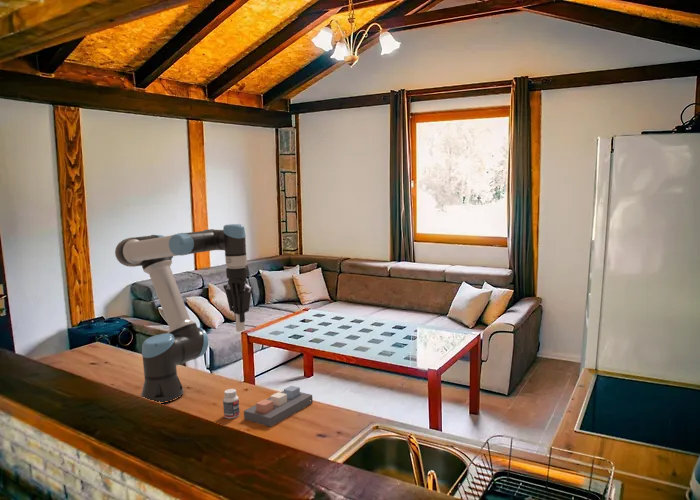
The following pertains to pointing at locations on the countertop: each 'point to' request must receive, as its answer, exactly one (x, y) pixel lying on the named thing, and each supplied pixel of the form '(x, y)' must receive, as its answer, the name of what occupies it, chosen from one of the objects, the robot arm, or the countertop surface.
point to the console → (278, 410)
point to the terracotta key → (264, 406)
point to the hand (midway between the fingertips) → (240, 330)
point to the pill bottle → (231, 404)
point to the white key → (279, 399)
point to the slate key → (292, 392)
